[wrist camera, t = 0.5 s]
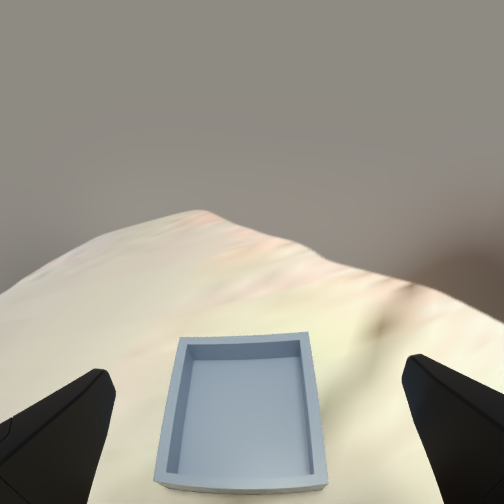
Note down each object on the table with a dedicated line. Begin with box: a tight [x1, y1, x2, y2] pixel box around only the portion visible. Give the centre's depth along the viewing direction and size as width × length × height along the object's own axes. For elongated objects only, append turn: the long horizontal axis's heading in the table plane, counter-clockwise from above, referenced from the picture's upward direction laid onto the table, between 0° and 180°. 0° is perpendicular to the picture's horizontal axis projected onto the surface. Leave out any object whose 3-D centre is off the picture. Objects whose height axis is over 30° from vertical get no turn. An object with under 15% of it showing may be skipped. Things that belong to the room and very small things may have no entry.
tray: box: [153, 332, 328, 494], centre depth 19 cm, size 13×11×3 cm
